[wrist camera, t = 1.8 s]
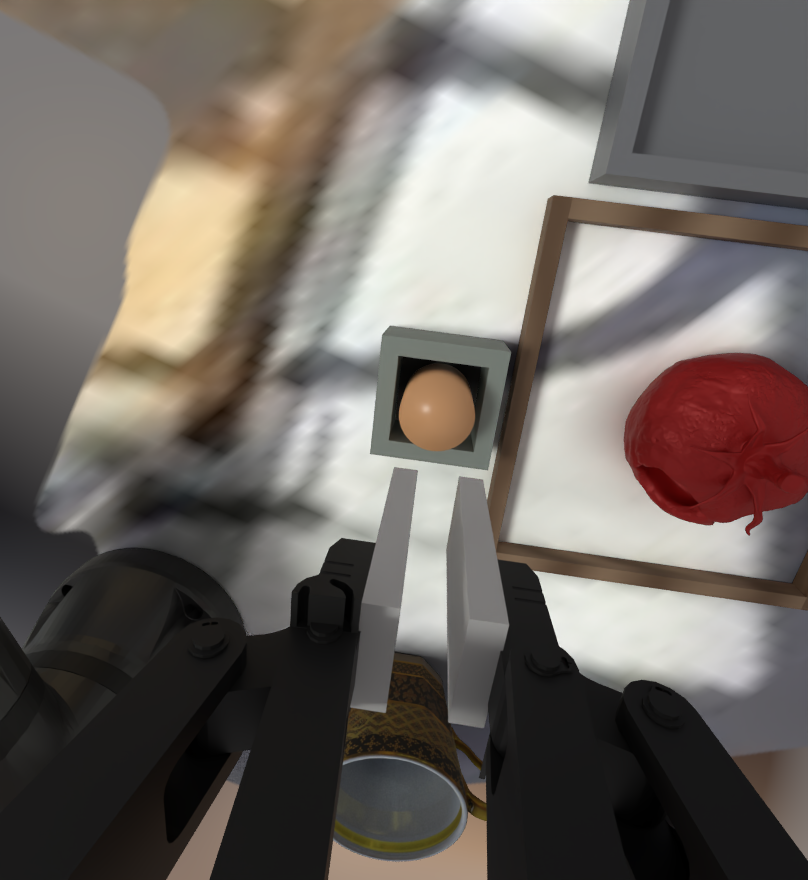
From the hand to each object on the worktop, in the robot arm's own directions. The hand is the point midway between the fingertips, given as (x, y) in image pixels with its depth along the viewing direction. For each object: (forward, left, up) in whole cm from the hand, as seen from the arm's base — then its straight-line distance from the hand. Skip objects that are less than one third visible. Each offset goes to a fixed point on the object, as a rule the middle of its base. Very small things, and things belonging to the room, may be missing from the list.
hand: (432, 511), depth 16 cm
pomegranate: (+16, 0, -17) cm, 23 cm away
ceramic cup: (+2, -25, -17) cm, 30 cm away
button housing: (0, 0, -16) cm, 16 cm away
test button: (0, 0, -14) cm, 14 cm away
